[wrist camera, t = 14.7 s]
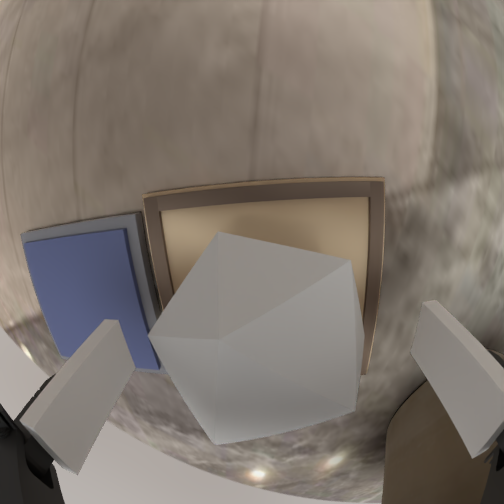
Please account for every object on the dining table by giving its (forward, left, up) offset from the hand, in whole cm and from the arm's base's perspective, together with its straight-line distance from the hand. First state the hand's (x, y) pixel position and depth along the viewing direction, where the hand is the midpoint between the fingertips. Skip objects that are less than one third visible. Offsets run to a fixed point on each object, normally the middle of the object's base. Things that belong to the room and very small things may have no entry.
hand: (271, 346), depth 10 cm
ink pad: (0, -12, -5) cm, 14 cm away
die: (0, 0, -5) cm, 5 cm away
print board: (0, 0, -5) cm, 5 cm away
